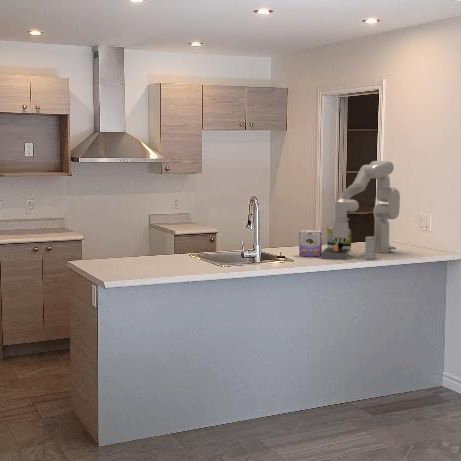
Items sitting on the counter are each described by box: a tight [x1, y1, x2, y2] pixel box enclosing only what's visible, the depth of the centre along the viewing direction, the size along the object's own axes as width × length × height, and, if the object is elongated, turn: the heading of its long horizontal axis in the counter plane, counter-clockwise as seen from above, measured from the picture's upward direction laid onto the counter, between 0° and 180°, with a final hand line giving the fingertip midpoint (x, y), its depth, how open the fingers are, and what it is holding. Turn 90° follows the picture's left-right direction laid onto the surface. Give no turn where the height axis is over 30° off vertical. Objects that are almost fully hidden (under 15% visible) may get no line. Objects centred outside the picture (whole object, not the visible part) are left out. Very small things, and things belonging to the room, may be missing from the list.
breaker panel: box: [320, 247, 350, 261], centre depth 460 cm, size 15×20×4 cm
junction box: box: [364, 235, 376, 261], centre depth 454 cm, size 5×12×13 cm, turn 165°
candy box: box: [298, 229, 323, 258], centre depth 462 cm, size 14×6×16 cm, turn 74°
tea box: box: [326, 227, 352, 252], centre depth 488 cm, size 15×10×15 cm, turn 25°
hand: (340, 249), depth 458 cm, fingers closed
